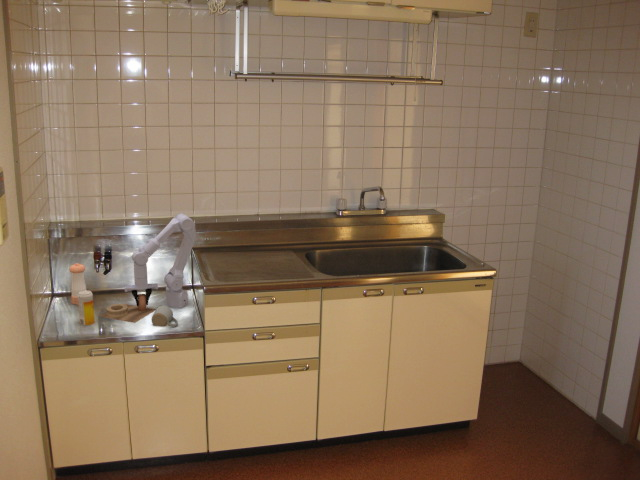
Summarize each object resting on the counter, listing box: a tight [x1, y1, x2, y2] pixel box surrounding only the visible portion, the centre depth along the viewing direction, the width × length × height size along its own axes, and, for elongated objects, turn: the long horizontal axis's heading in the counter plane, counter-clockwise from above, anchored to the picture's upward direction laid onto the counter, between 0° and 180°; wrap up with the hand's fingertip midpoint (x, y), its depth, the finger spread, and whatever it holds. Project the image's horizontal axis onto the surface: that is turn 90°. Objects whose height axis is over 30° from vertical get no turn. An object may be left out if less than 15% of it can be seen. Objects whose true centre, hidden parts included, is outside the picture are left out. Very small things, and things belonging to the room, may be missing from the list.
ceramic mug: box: [151, 305, 179, 328], centre depth 287 cm, size 11×8×8 cm
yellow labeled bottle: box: [77, 289, 96, 326], centre depth 284 cm, size 6×6×15 cm
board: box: [98, 303, 157, 324], centre depth 297 cm, size 19×17×1 cm
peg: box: [138, 293, 148, 311], centre depth 300 cm, size 4×4×7 cm
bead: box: [105, 303, 128, 318], centre depth 295 cm, size 9×9×3 cm
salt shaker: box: [68, 262, 87, 306], centre depth 309 cm, size 7×7×19 cm
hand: (142, 304), depth 301 cm, fingers closed on peg, 4 cm apart
